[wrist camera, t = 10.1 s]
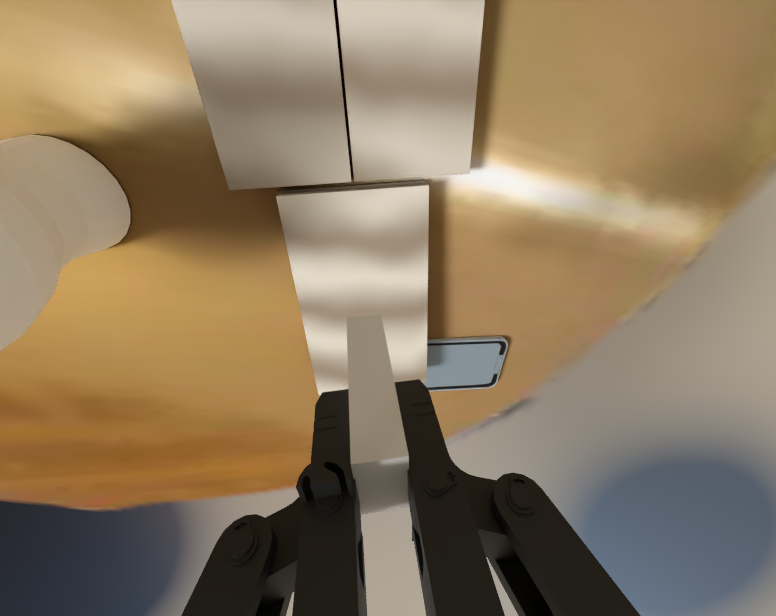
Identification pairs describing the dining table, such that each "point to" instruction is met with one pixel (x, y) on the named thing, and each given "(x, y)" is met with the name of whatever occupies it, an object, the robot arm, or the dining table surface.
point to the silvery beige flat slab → (360, 271)
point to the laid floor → (335, 87)
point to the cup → (49, 221)
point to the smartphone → (464, 362)
